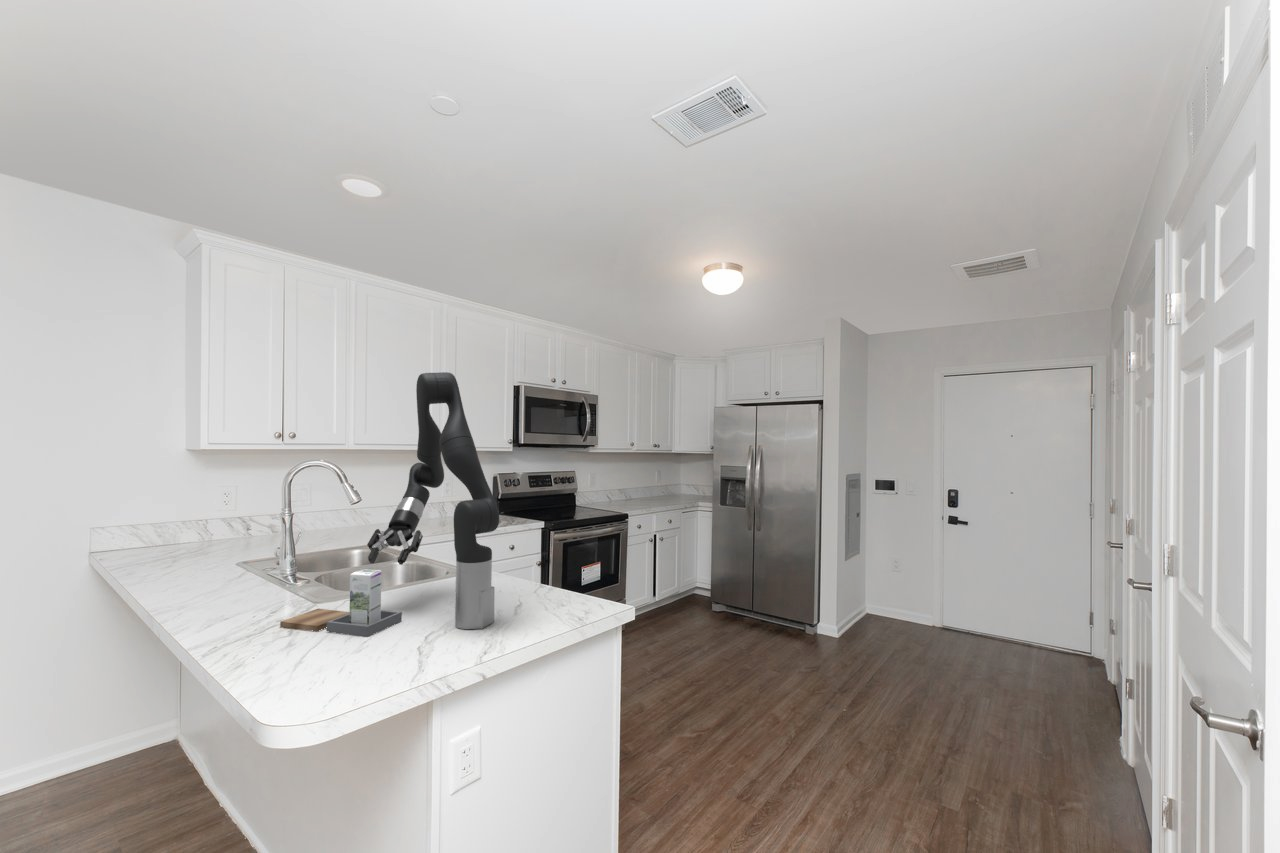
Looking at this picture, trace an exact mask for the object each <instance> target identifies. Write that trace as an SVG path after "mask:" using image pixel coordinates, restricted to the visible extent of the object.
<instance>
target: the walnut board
mask: <svg viewBox="0 0 1280 853" xmlns="http://www.w3.org/2000/svg"><path fill="white" fill-rule="evenodd" d="M349 613H350V611H344V610H336V609H335V610H334V609H333V610H332V609H326V608H316V609H312V610H310V611H306V612H304V613H302V614H298V615H295V616H292V617H290V618H287V619H283V620H280V623H279V624H280V625H279V627H280V628H282V627H285V628H284V629H290V628H294V629H293V630H298V629H305V630H304V631H306V630H313V631H312V632H314V631H318V632H320V631H319V630H321V629H323V630H325V629H324V628H326V627H327V622H328V621H331V620H333V619H336V618H338V617H341V616H344V615H346V614H349ZM321 631H322V630H321Z"/></svg>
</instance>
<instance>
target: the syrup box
mask: <svg viewBox="0 0 1280 853" xmlns="http://www.w3.org/2000/svg"><path fill="white" fill-rule="evenodd" d="M382 578H383V577H382V569H358V570H356V571H354V572H352V573H350V575H349V612H350V614H349V623H351V624H359V625H369V624H372V623H374V622H377V621H379V620H381V610H382V608H381V607H382Z"/></svg>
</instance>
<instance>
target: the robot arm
mask: <svg viewBox="0 0 1280 853" xmlns="http://www.w3.org/2000/svg"><path fill="white" fill-rule="evenodd" d="M415 390H416V411H417V426H418V439H417V450H416V457H417V460H418V461H420V462H416V463H414V464H413V465H412V466H410V470H409V473H408V481H407V482H408V483H407V487H406V491H405V493H404V495H403V496H402V499H401V501H400V502H399V504H398V505H397V507H396V509H395V511H394V513H393V515H392V517H391V519H390V521H389V522H388V526H387V529H386V530H383V531H382V530H380V529H379V528H377V529H375V530H374V532H373V533H372V536H371V537H370V539H369V541H368V542H367V544H366V545H367V548H368V549H369V550H370V553H369V555H368V557H367V559H368V562H369V564H372V565H373V564H375V562H376V560H377V559H378V556H379V554H380V552H382V551H383V550H386V549H387V548H389V547H395V546H396V547H401V546H402V547H403V549H402V550H401V552H400V554H399V556H398V559H397V562H398V564H399V565H400V566H402V565H404V563H406V562H407V559H408V556H409V555H410V553H417V552H418V550H419V548H420V546H421V542H422V540H423V537H424V535H423V534H422V532H421V530H419V529H417V527H418V524H419V523H420V520H421V519H422V516H423V514H424V510H425V507H426V505H427V502H428V500H429V498H430V496H431V495H430V491H429V489H427V488H432V489H437V488H439V487H440V486H442V484H443V482H444V480H445V470H444V466H443V462H444V464H445V466H446V468H447V469H448V470H449V471H450V472H451V473H452V474H453V475H454V476H455V477H456V479H458V480H459V481H460V482H461V483H462V484H463V485H464V486H465V487H466V489H467V490H468V492H469V494H470V496H471V498H472V499H469V500H468V499H467V500H462V501H461V500H460V501H459V502H458V503H457V504H456V505H455V508H454V513H453V535H454V536H453V539H454V540H453V541H454V543H453V544H454V551H455V558H456V560H455V603H454V604H455V605H454V606H455V608H454V610H455V612H454V613H455V614H454V618H455V619H454V626H455V627H456V628H458V629H460V630H462V629H463V630H475V629H477V630H478V629H480V630H481V629H485V628H486V627H487V626H489V625H491V624H492V623H495V590H496V589H495V586H493V585H492V575H493V574H492V570H493V569H492V567H493V564H492V563H493V550H492V548H491V547H490V546H486V545H482V544H479V543H478V541H477V535H479V534H486V533H492V532H494V531H496V530H497V529H498V527H499V524H500V511H499V508H498V505H497V502H496V500H495V498H494V495H493V493H492V491H491V488H490V486H489V483H488V481H487V479H486V476H485V474H484V470H483V467H482V465H481V461H480V458H479V455H478V451H477V448H476V444H475V441H474V439H473V436H472V433H471V430H470V427H469V424H468V421H467V418H466V415H465V411H464V406H463V402H462V396H461V393H460V388H459V383H458V381H457V379H456V377H455V375H454V374H453V373H451V372H445V371H443V372H425V373H420V374H419V375H418V377H417V380H416V389H415ZM432 404H433V405H434V404H435V405H436V404H437V405H438V404H446V405H447V407H448V416H447V420H446V423H445V425H444V427H443V429H442V431H441V430H440V428H439V426H438V425H437V423H436V422H435V420H434V419H433V417H432V415H431V413H430V412H431V411H430V405H432ZM442 458H443V462H442ZM426 487H427V488H426ZM412 538H413V539H412ZM411 539H412V541H411V544H410V545H409V541H410V540H411Z"/></svg>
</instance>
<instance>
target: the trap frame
mask: <svg viewBox="0 0 1280 853" xmlns="http://www.w3.org/2000/svg"><path fill="white" fill-rule="evenodd" d="M349 614H350V613H349ZM349 614H346V615H344V616H341V617H338V618H336V619H333V620H331V621H328V622H327V628H326V629H325V630H326V631H329V632H328V633H332V632H336V633H335V634H340V633H343V634H342V635H348V634H349V636H357V637H365V636H366V637H367V638H368V637H369V636H372V635H374V633H375V634H377V633H379V632H381V631H383V629H384V630H385V628H386V629H388V628H390V627H393V626H394V624H395V625H398V624H400V623H401V622H402V616H403V614H402V611H394V610H393V611H392V610H384V609H381V620H379V621H377V622H374V623H372V624H369V625H359V624H351V623H349ZM392 625H393V626H392ZM387 627H388V628H387ZM376 632H377V633H376Z"/></svg>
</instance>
